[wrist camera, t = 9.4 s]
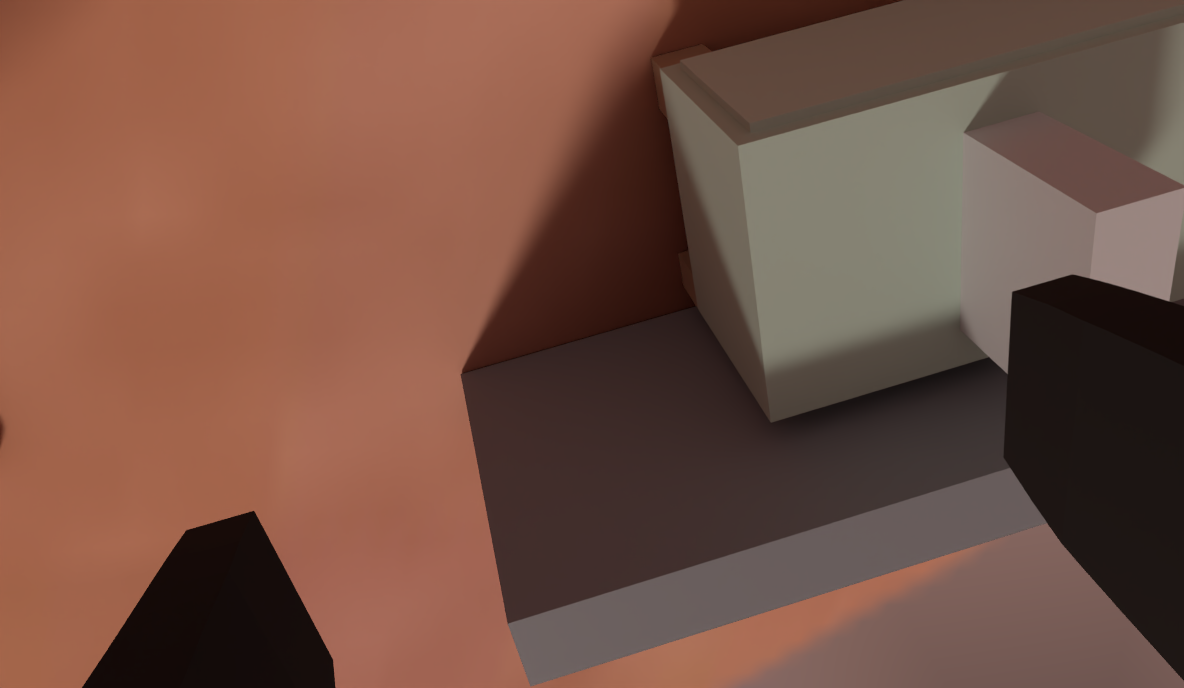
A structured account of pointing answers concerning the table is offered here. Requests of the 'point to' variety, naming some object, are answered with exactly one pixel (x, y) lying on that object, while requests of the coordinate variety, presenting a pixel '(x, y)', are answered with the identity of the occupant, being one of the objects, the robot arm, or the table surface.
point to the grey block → (921, 181)
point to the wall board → (715, 488)
